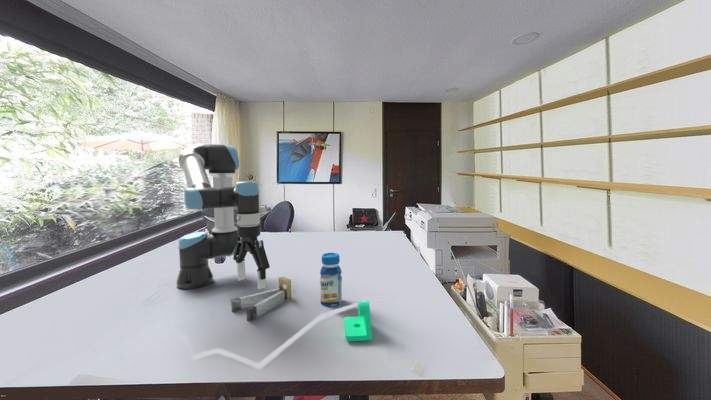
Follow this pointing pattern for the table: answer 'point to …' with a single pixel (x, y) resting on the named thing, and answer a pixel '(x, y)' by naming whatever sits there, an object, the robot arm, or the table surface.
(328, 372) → the table surface
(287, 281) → the brushed brass block
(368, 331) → the camera mount
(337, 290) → the beverage bottle
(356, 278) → the table surface
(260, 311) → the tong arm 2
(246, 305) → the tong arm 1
